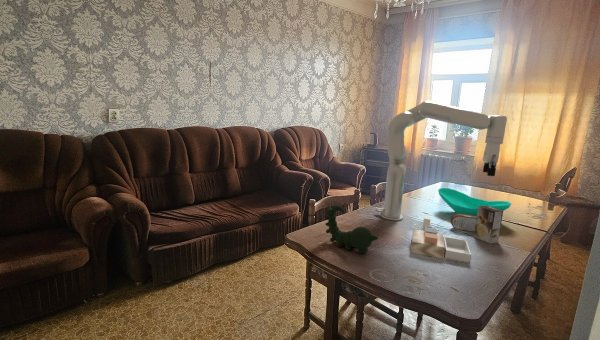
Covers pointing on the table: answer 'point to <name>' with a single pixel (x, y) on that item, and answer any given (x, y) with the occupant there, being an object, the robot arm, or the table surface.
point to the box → (457, 250)
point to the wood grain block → (427, 245)
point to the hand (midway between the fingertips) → (488, 174)
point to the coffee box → (488, 224)
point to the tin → (464, 222)
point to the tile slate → (430, 231)
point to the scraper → (426, 223)
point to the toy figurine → (348, 233)
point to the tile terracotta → (431, 238)
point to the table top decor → (468, 202)
